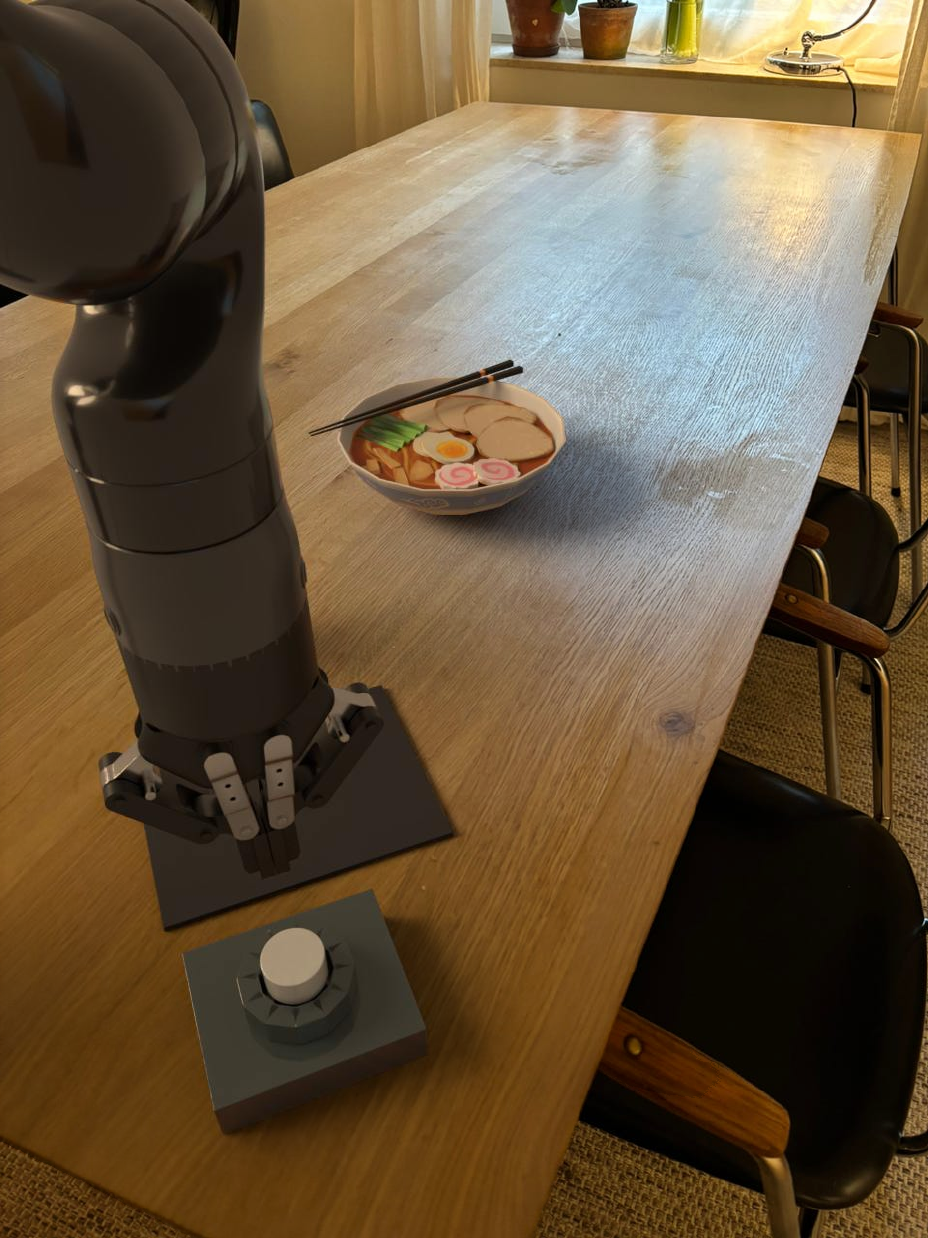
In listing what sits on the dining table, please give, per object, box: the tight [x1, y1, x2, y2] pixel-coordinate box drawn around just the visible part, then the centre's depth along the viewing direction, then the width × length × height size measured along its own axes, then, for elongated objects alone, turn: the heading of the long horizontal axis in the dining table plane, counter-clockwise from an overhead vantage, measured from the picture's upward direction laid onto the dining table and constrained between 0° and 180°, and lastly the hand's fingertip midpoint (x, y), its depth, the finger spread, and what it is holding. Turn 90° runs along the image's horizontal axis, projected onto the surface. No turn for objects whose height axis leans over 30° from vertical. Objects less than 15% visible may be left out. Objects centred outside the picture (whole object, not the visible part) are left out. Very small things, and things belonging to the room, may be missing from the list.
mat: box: [142, 684, 454, 932], centre depth 72 cm, size 20×16×1 cm
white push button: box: [260, 928, 328, 1005], centre depth 56 cm, size 4×4×2 cm
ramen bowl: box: [308, 359, 567, 516], centre depth 100 cm, size 25×23×8 cm
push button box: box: [181, 888, 429, 1136], centre depth 58 cm, size 12×10×5 cm
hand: (271, 862), depth 50 cm, fingers closed
